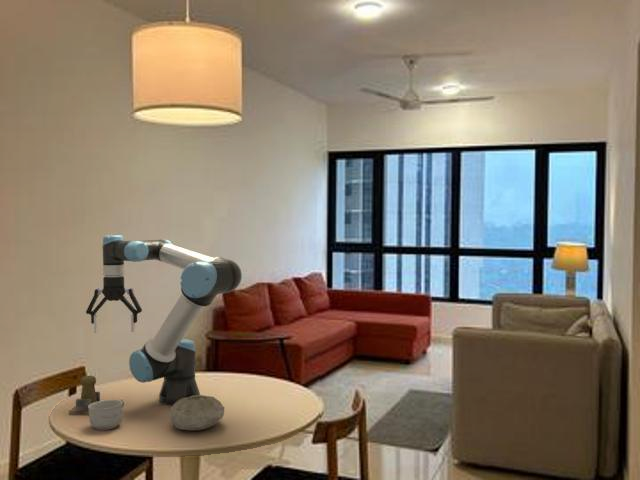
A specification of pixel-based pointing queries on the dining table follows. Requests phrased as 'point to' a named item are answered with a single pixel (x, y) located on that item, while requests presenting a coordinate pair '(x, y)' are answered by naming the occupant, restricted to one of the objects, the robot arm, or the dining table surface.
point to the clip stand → (83, 405)
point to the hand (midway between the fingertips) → (114, 331)
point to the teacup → (106, 413)
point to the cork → (88, 388)
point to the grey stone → (196, 412)
